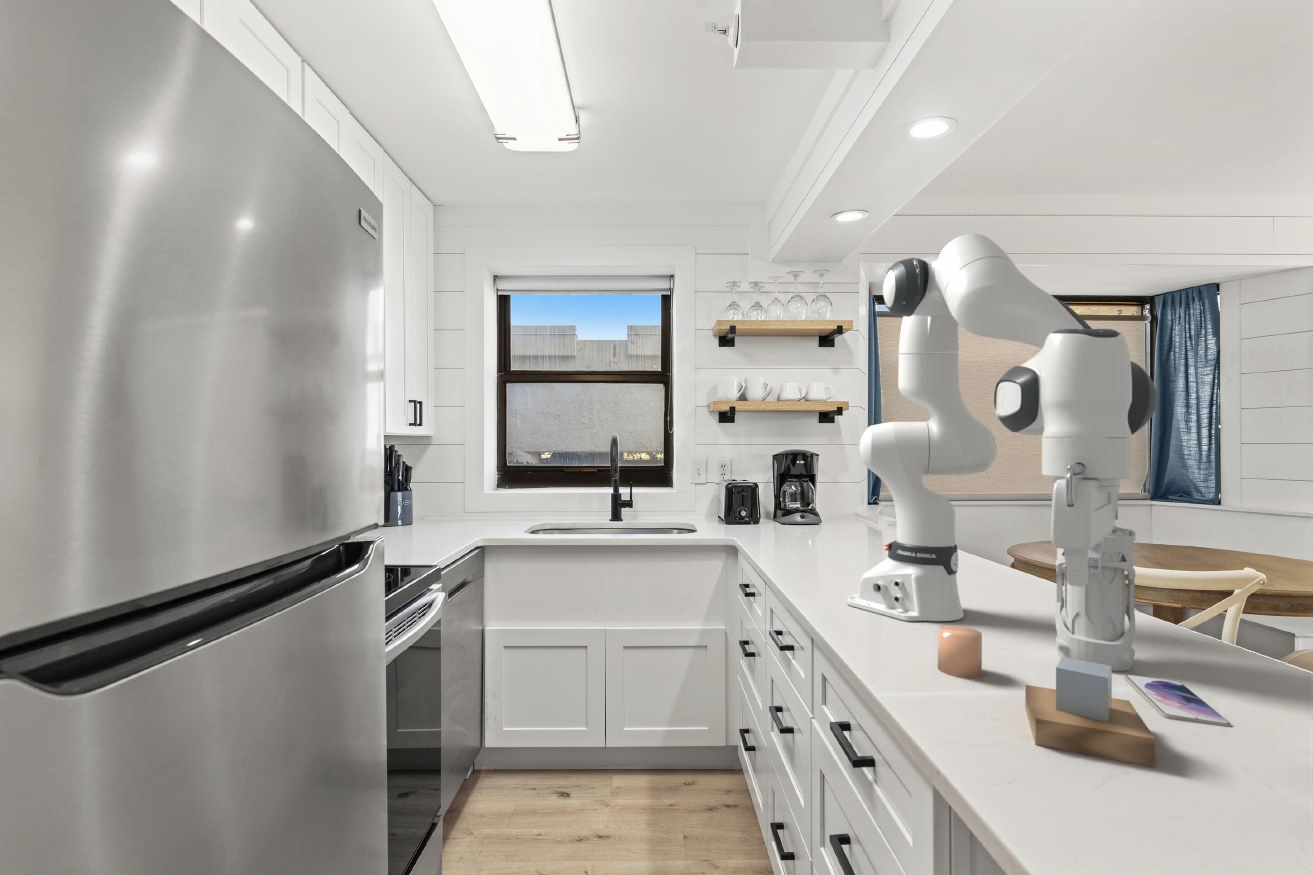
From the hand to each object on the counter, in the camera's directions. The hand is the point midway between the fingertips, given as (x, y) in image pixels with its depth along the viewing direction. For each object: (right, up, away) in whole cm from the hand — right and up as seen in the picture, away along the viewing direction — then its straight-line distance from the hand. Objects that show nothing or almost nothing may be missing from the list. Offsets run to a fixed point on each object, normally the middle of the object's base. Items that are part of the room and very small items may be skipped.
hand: (1084, 578), depth 74 cm
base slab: (0, -19, 0) cm, 19 cm away
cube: (0, -16, 0) cm, 16 cm away
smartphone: (+19, -19, +10) cm, 29 cm away
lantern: (+20, -19, +26) cm, 38 cm away
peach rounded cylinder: (-5, -19, +20) cm, 28 cm away
